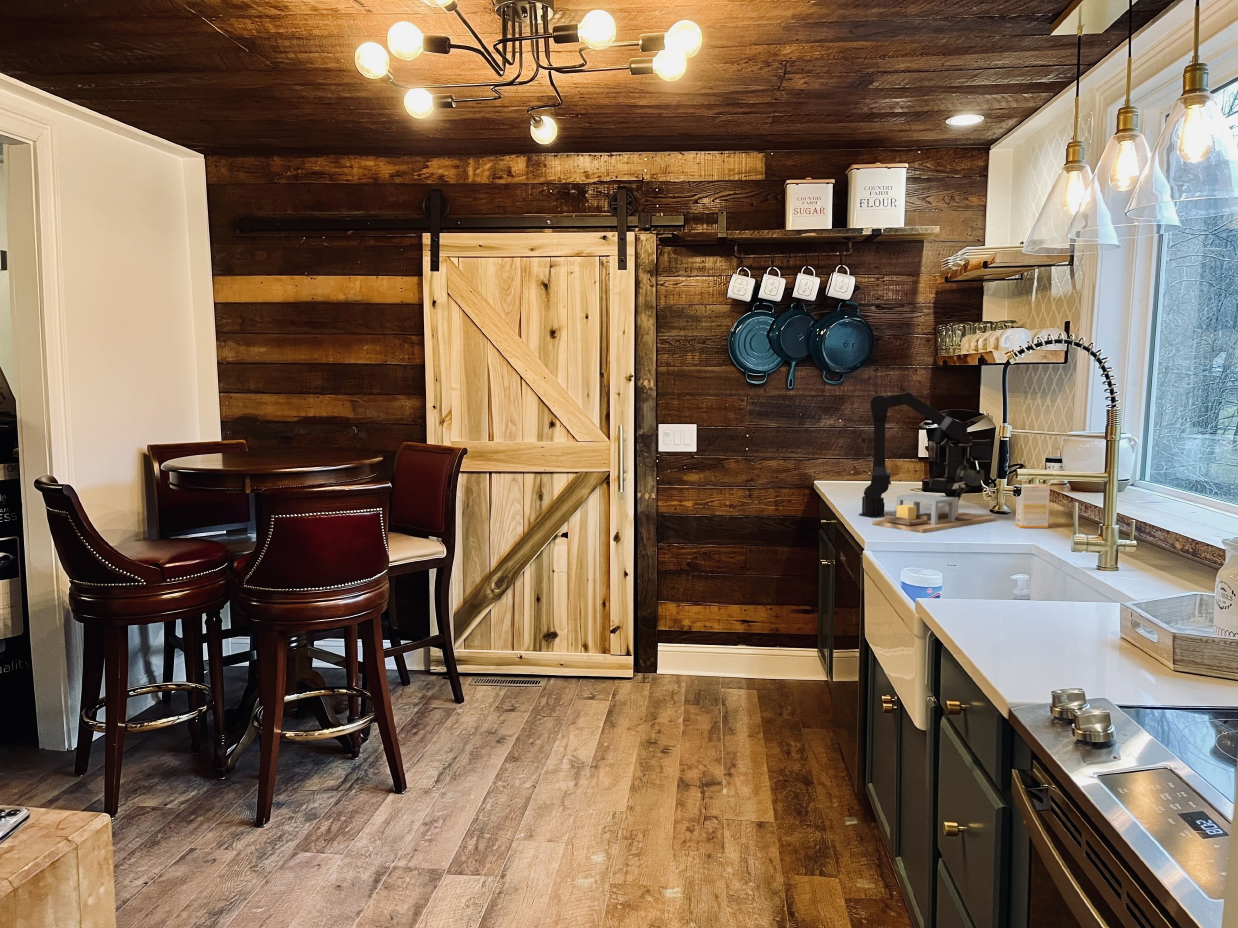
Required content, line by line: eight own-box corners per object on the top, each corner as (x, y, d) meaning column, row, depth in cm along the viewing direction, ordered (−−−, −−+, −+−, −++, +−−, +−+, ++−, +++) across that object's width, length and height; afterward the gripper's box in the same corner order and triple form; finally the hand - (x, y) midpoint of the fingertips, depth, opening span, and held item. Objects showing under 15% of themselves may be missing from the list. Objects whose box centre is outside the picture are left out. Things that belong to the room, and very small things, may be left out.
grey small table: (895, 522, 272) (896, 495, 272) (915, 519, 278) (916, 493, 277) (934, 528, 261) (935, 500, 260) (954, 525, 267) (955, 498, 266)
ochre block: (896, 518, 264) (897, 505, 264) (904, 517, 267) (905, 504, 266) (907, 520, 261) (908, 507, 261) (915, 519, 263) (916, 506, 263)
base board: (872, 524, 269) (872, 520, 269) (945, 513, 291) (945, 509, 290) (922, 532, 254) (922, 528, 254) (995, 520, 276) (995, 516, 276)
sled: (884, 521, 265) (885, 501, 264) (937, 513, 280) (937, 494, 280) (909, 525, 258) (910, 505, 257) (962, 516, 273) (962, 497, 272)
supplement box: (1042, 525, 266) (1044, 483, 265) (1048, 528, 261) (1050, 485, 260) (1014, 525, 267) (1016, 483, 266) (1020, 528, 262) (1022, 485, 261)
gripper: (961, 464, 264) (959, 514, 266) (995, 460, 275) (993, 509, 277) (929, 461, 273) (927, 510, 275) (964, 458, 284) (962, 505, 286)
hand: (953, 508), depth 278 cm, fingers closed
